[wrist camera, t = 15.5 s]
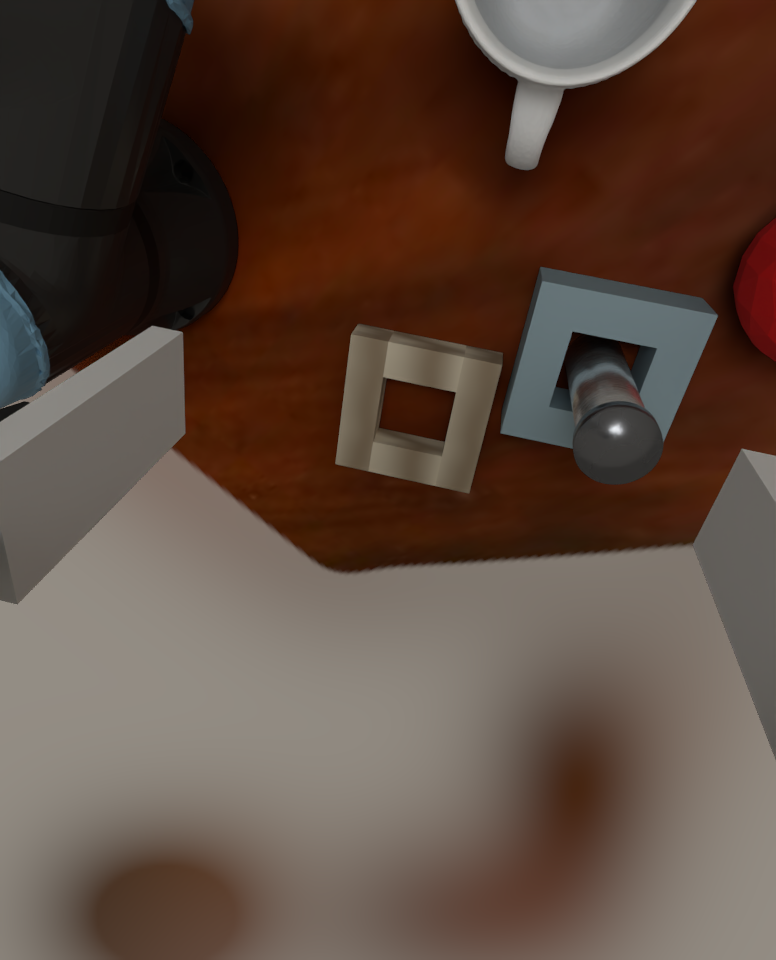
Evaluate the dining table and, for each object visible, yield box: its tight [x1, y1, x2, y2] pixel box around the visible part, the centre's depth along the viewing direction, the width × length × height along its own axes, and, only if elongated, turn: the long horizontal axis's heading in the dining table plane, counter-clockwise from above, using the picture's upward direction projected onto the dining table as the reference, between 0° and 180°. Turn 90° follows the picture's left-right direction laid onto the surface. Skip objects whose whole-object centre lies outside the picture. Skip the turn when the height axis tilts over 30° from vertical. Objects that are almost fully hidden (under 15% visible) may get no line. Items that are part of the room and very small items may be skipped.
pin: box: [565, 334, 663, 484], centre depth 41 cm, size 5×5×14 cm
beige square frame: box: [335, 324, 503, 493], centre depth 50 cm, size 11×11×2 cm
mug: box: [455, 0, 696, 170], centre depth 31 cm, size 15×11×13 cm
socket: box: [501, 267, 718, 449], centre depth 45 cm, size 11×11×4 cm
